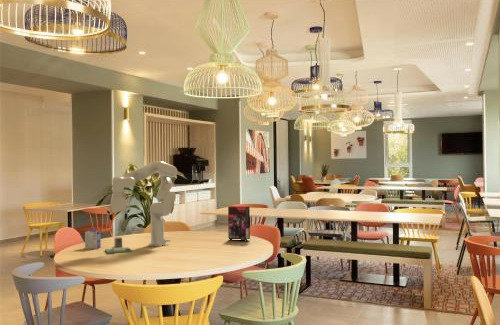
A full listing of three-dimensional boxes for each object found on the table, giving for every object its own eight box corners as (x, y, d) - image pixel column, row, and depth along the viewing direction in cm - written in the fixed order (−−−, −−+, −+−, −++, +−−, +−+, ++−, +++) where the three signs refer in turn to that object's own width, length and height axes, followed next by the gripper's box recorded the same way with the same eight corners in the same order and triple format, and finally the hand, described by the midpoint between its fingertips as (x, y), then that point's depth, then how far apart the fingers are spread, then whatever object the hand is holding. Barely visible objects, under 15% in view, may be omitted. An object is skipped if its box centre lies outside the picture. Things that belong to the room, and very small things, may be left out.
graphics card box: (227, 240, 357) (227, 206, 358) (232, 239, 363) (232, 205, 364) (245, 242, 348) (245, 206, 349) (250, 240, 354) (250, 206, 355)
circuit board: (128, 249, 319) (128, 244, 319) (131, 251, 307) (131, 247, 307) (104, 250, 312) (104, 246, 312) (107, 253, 300) (107, 249, 300)
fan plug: (120, 248, 313) (120, 237, 313) (122, 250, 305) (122, 238, 305) (114, 249, 312) (114, 237, 312) (116, 251, 303) (116, 239, 304)
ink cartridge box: (101, 247, 325) (101, 227, 325) (97, 249, 320) (97, 228, 320) (88, 247, 327) (88, 227, 327) (84, 248, 322) (84, 228, 322)
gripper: (129, 194, 318) (130, 218, 317) (104, 195, 310) (104, 220, 310) (132, 194, 311) (132, 219, 311) (106, 195, 303) (106, 221, 303)
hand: (118, 219), depth 310 cm, fingers open, 9 cm apart
